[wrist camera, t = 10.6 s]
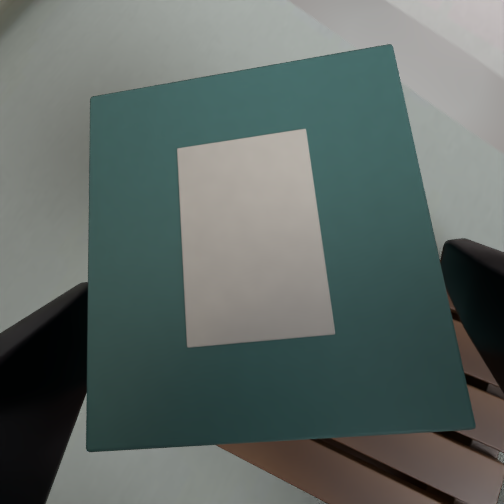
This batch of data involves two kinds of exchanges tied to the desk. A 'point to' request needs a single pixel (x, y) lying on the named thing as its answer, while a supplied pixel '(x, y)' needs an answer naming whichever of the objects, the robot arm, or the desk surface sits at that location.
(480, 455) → the wooden pallet
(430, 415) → the tissue box
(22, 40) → the desk surface
